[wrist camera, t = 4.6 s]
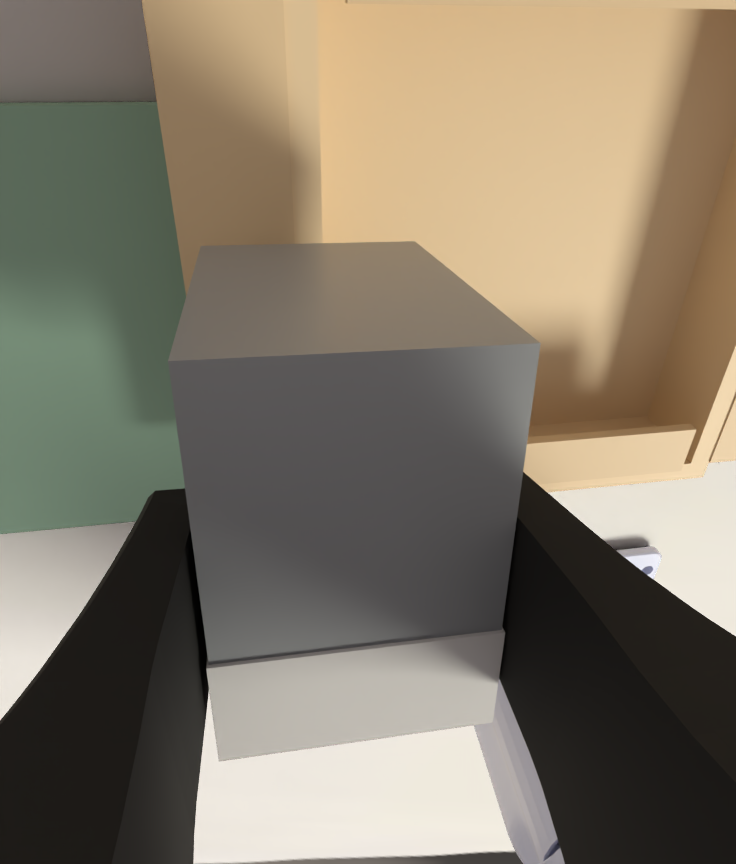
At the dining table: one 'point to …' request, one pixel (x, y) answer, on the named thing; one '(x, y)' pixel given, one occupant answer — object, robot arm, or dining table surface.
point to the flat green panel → (85, 314)
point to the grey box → (348, 489)
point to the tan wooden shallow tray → (494, 185)
